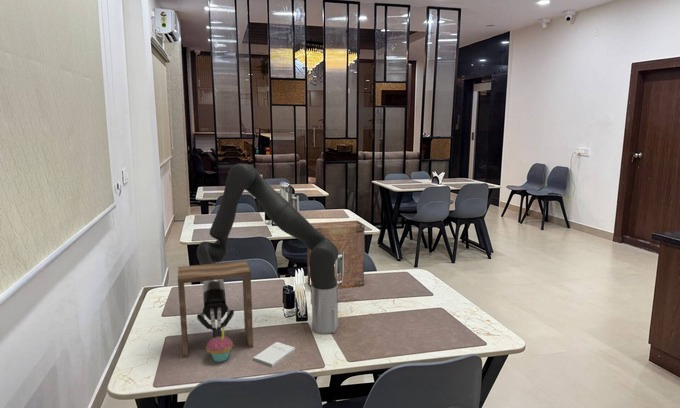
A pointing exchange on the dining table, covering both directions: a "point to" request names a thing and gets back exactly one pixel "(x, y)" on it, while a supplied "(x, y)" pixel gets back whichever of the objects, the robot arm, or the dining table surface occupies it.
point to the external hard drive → (274, 354)
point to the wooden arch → (215, 273)
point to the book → (346, 249)
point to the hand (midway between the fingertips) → (217, 339)
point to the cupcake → (219, 347)
